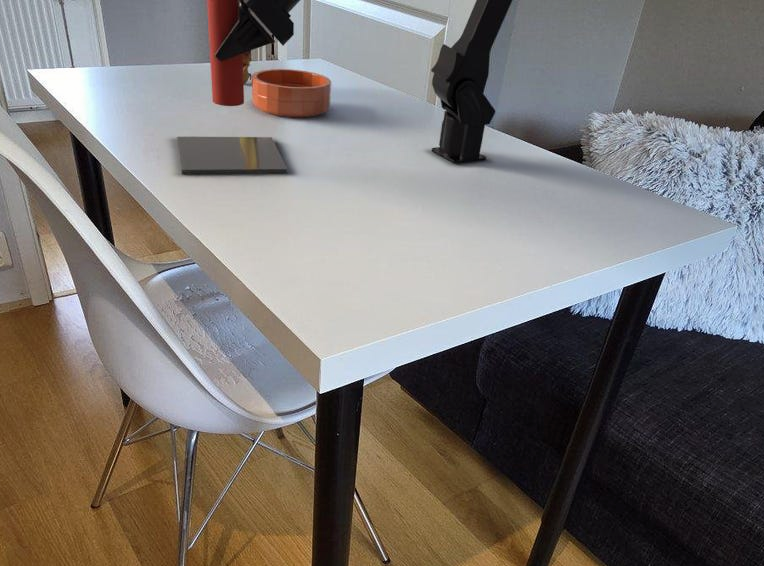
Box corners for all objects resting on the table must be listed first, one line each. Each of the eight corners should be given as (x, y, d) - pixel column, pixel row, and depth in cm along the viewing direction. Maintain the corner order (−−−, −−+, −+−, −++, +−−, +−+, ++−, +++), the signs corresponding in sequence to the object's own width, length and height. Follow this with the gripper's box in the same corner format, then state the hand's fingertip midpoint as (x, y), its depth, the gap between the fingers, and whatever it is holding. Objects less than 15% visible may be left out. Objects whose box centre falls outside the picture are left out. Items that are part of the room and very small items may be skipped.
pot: (343, 116, 117) (345, 86, 114) (272, 121, 111) (272, 90, 108) (307, 95, 126) (308, 67, 123) (240, 99, 120) (239, 70, 117)
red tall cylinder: (247, 100, 92) (245, -5, 85) (238, 107, 89) (234, -2, 81) (218, 96, 92) (213, -9, 85) (208, 103, 89) (201, -6, 82)
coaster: (271, 140, 102) (271, 137, 102) (287, 173, 91) (287, 169, 91) (177, 140, 98) (176, 136, 98) (181, 174, 87) (181, 169, 87)
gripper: (244, -99, 86) (164, -8, 89) (265, -92, 72) (168, 16, 75) (303, -25, 93) (226, 57, 96) (333, -5, 78) (241, 91, 82)
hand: (215, 54), depth 87 cm, fingers closed on red tall cylinder, 4 cm apart
